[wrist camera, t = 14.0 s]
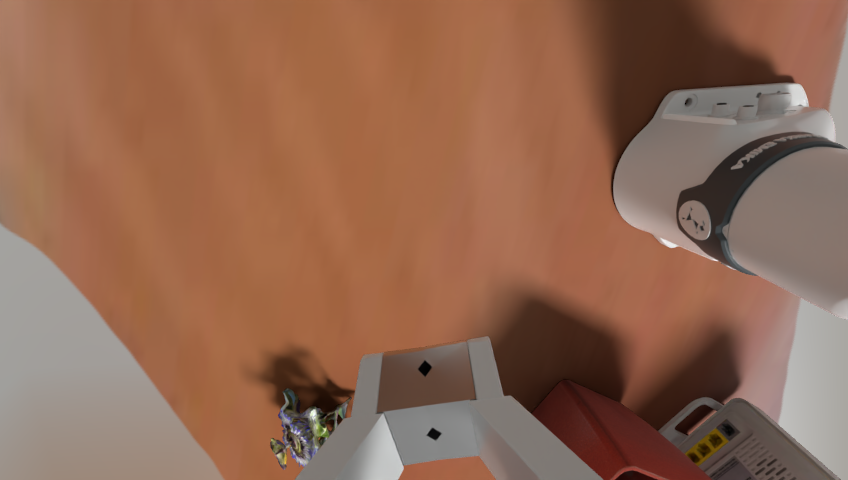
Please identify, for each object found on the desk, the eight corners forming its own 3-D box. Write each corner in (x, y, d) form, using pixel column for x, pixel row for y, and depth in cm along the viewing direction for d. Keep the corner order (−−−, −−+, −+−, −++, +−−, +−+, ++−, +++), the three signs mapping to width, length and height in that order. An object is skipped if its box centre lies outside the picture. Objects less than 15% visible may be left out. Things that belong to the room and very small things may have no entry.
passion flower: (303, 374, 57) (256, 393, 45) (371, 370, 55) (340, 388, 43) (306, 454, 55) (256, 495, 43) (376, 452, 53) (345, 494, 41)
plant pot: (484, 439, 58) (519, 568, 43) (557, 353, 53) (628, 465, 37) (574, 470, 64) (634, 595, 48) (649, 395, 58) (744, 508, 43)
